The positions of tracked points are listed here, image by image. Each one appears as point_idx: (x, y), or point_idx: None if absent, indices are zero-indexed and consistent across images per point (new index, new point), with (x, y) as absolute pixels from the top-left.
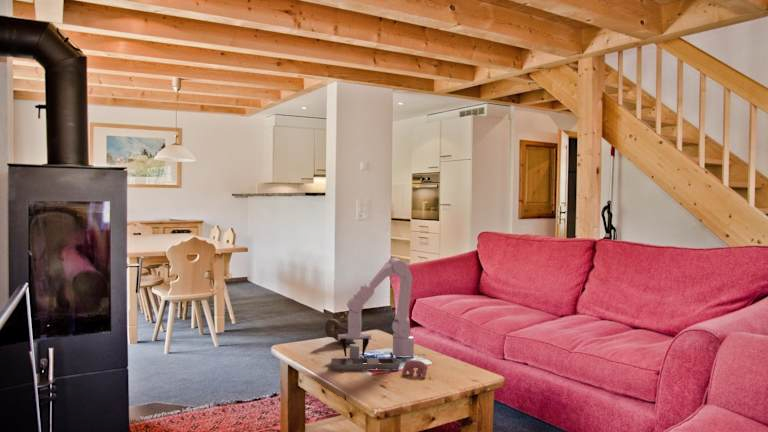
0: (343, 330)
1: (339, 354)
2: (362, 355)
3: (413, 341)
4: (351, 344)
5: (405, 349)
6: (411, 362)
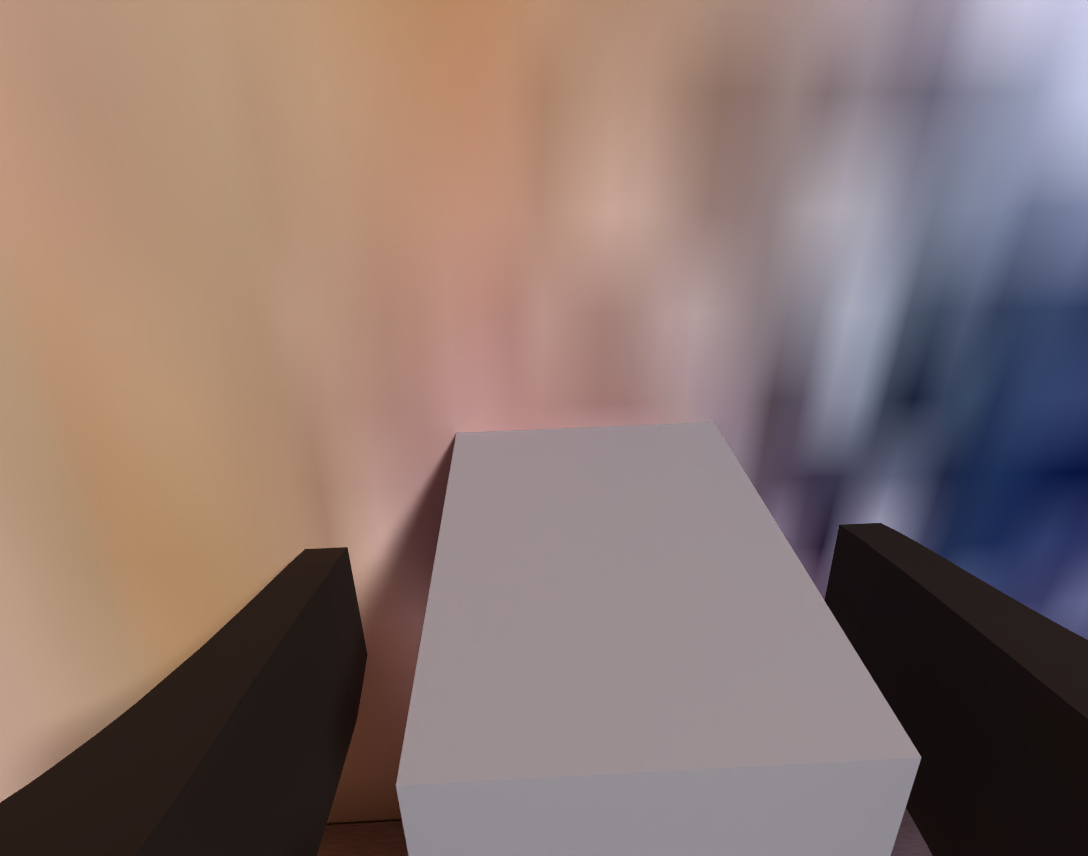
0: None
1: (71, 135)
2: None
3: None
4: (498, 816)
5: None
6: None
